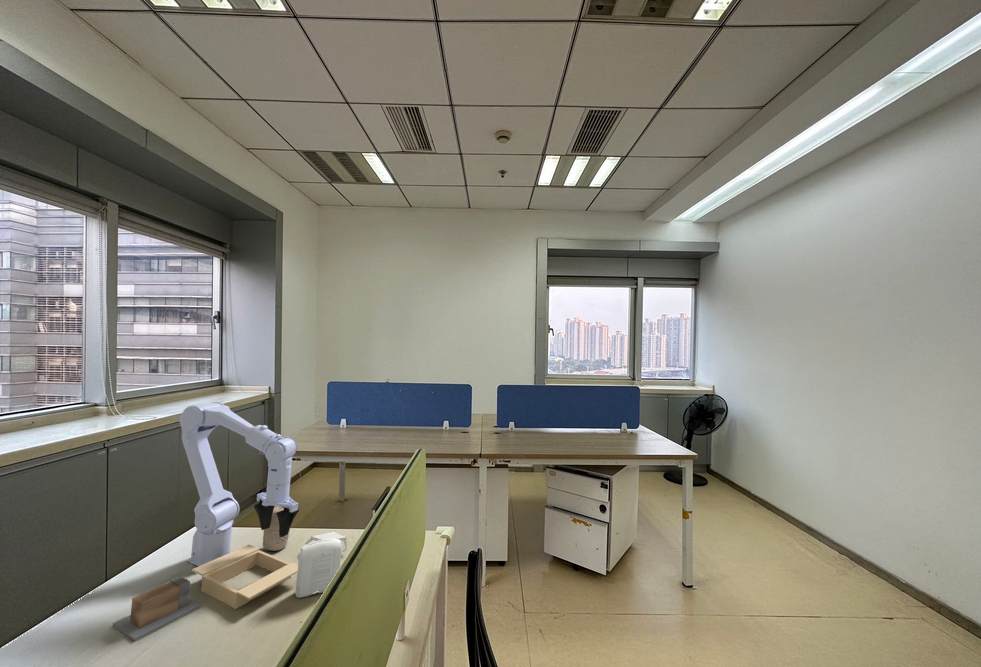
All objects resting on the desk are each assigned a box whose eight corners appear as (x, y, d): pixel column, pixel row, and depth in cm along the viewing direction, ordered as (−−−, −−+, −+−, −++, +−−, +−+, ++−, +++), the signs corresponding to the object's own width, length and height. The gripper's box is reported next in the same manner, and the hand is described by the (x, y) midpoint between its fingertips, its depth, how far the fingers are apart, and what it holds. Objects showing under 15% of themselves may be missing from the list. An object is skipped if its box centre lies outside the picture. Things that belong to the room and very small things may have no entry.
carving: (293, 544, 120) (296, 504, 120) (274, 556, 112) (277, 514, 113) (276, 540, 121) (280, 501, 122) (256, 552, 114) (260, 510, 115)
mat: (112, 626, 82) (112, 623, 82) (177, 595, 93) (177, 592, 93) (134, 641, 78) (134, 638, 78) (199, 607, 89) (199, 605, 89)
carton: (190, 585, 97) (192, 569, 97) (247, 558, 110) (249, 544, 111) (247, 615, 88) (249, 597, 88) (302, 582, 101) (304, 567, 101)
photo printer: (337, 580, 103) (340, 532, 103) (340, 588, 99) (344, 539, 100) (294, 591, 97) (298, 541, 98) (296, 601, 94) (300, 548, 94)
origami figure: (347, 543, 122) (348, 527, 123) (346, 557, 114) (347, 540, 115) (305, 547, 118) (307, 531, 119) (302, 562, 110) (303, 544, 111)
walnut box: (129, 621, 83) (132, 596, 83) (177, 598, 91) (179, 575, 91) (140, 628, 81) (142, 603, 81) (188, 604, 89) (190, 581, 90)
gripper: (248, 481, 108) (243, 531, 107) (283, 492, 102) (279, 545, 101) (271, 474, 114) (267, 521, 113) (306, 484, 108) (302, 534, 107)
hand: (274, 532), depth 108 cm, fingers open, 7 cm apart
